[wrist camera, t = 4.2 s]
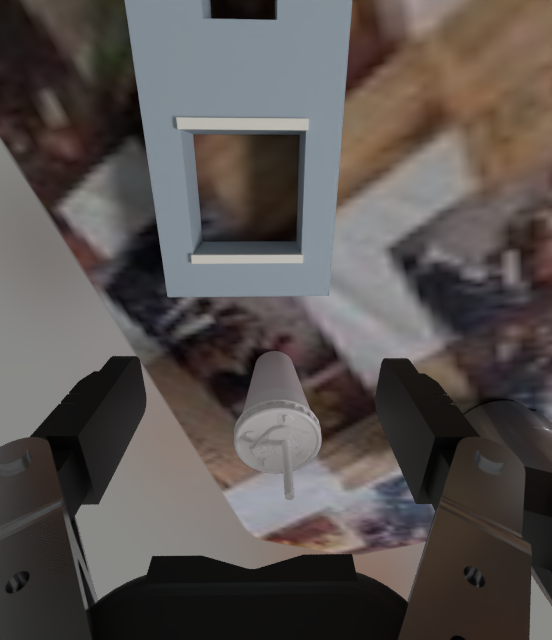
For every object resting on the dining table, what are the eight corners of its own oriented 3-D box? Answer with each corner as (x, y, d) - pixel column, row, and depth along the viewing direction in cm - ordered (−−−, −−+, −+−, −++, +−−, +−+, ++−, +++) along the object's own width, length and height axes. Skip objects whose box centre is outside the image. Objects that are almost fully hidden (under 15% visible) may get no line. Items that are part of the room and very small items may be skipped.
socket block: (348, -140, 18) (370, -219, 14) (320, 278, 29) (329, 297, 25) (126, -147, 18) (88, -232, 14) (179, 279, 28) (166, 298, 24)
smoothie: (315, 381, 33) (347, 516, 21) (256, 401, 34) (252, 543, 22) (293, 328, 31) (314, 446, 18) (229, 352, 32) (207, 480, 19)
